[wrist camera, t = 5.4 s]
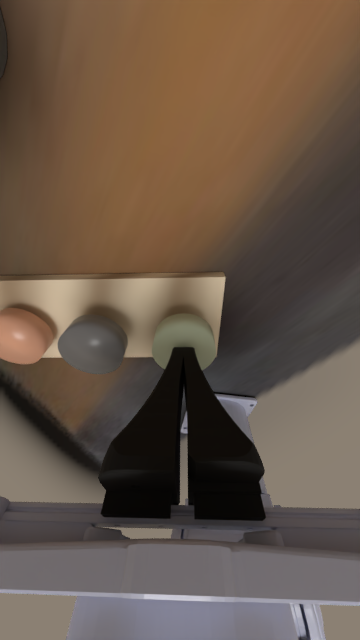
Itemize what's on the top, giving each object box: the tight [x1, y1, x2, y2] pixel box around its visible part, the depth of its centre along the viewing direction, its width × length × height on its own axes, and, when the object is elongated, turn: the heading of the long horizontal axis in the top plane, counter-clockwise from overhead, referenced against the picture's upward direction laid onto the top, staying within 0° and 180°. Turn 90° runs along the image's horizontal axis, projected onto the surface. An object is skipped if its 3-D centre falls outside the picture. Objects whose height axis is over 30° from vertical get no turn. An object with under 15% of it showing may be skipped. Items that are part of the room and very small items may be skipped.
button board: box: [0, 272, 226, 357], centre depth 17 cm, size 19×8×1 cm, turn 91°
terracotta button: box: [0, 308, 53, 364], centre depth 16 cm, size 4×4×2 cm
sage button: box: [152, 313, 216, 370], centre depth 14 cm, size 4×4×2 cm
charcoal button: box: [58, 314, 128, 374], centre depth 15 cm, size 4×4×2 cm
